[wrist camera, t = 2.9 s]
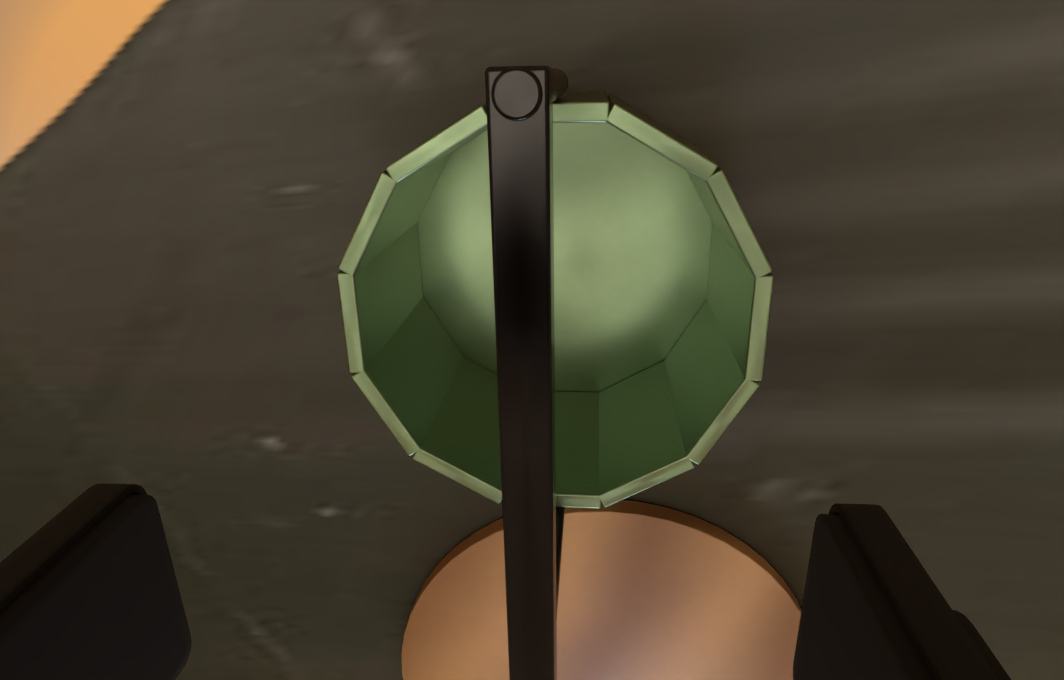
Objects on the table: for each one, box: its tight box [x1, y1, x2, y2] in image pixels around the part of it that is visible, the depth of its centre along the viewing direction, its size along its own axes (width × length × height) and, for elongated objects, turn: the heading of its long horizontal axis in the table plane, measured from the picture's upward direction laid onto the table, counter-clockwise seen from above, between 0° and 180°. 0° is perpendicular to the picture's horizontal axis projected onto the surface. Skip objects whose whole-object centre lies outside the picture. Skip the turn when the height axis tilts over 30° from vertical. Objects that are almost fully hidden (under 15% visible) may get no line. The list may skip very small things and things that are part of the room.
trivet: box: [401, 500, 802, 680], centre depth 34 cm, size 20×20×1 cm
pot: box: [337, 66, 774, 680], centre depth 20 cm, size 12×14×15 cm
